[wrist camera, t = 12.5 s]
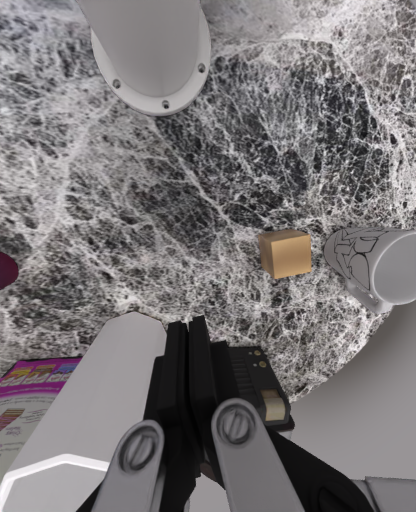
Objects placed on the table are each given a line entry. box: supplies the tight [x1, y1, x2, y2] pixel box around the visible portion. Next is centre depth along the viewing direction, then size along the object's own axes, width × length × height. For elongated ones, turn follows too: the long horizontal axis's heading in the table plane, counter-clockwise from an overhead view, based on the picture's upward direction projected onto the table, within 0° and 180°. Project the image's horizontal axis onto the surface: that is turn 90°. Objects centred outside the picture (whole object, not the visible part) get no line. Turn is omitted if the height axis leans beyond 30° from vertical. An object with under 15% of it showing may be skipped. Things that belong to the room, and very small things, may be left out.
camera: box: [200, 348, 295, 482], centre depth 29 cm, size 11×14×15 cm
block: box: [258, 229, 312, 279], centre depth 28 cm, size 5×5×5 cm
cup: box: [0, 312, 167, 512], centre depth 24 cm, size 11×11×18 cm
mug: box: [324, 227, 416, 314], centre depth 27 cm, size 12×8×10 cm
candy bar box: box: [0, 356, 83, 485], centre depth 25 cm, size 11×5×16 cm, turn 90°
